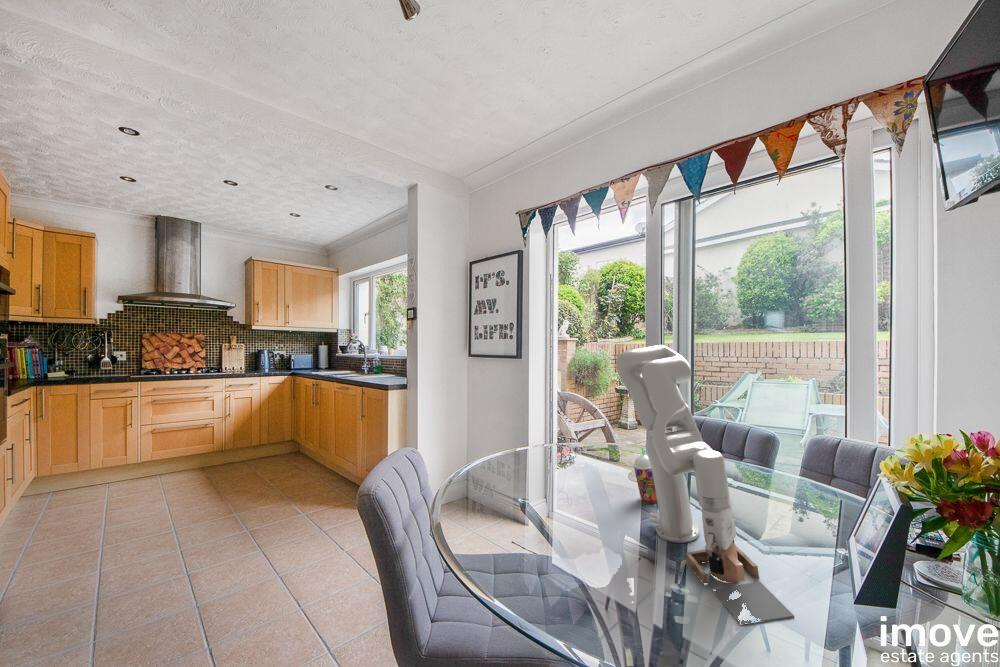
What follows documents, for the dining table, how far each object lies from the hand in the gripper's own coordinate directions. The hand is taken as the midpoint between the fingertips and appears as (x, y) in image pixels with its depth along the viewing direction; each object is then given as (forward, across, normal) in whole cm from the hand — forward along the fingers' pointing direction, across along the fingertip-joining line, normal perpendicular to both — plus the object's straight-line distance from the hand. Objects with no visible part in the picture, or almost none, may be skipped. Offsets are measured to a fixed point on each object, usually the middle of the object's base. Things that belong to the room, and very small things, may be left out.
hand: (723, 562), depth 108 cm
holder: (+3, +1, +1) cm, 4 cm away
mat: (+3, -8, -8) cm, 12 cm away
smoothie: (+4, +31, +35) cm, 47 cm away
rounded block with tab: (+3, -2, -2) cm, 4 cm away
